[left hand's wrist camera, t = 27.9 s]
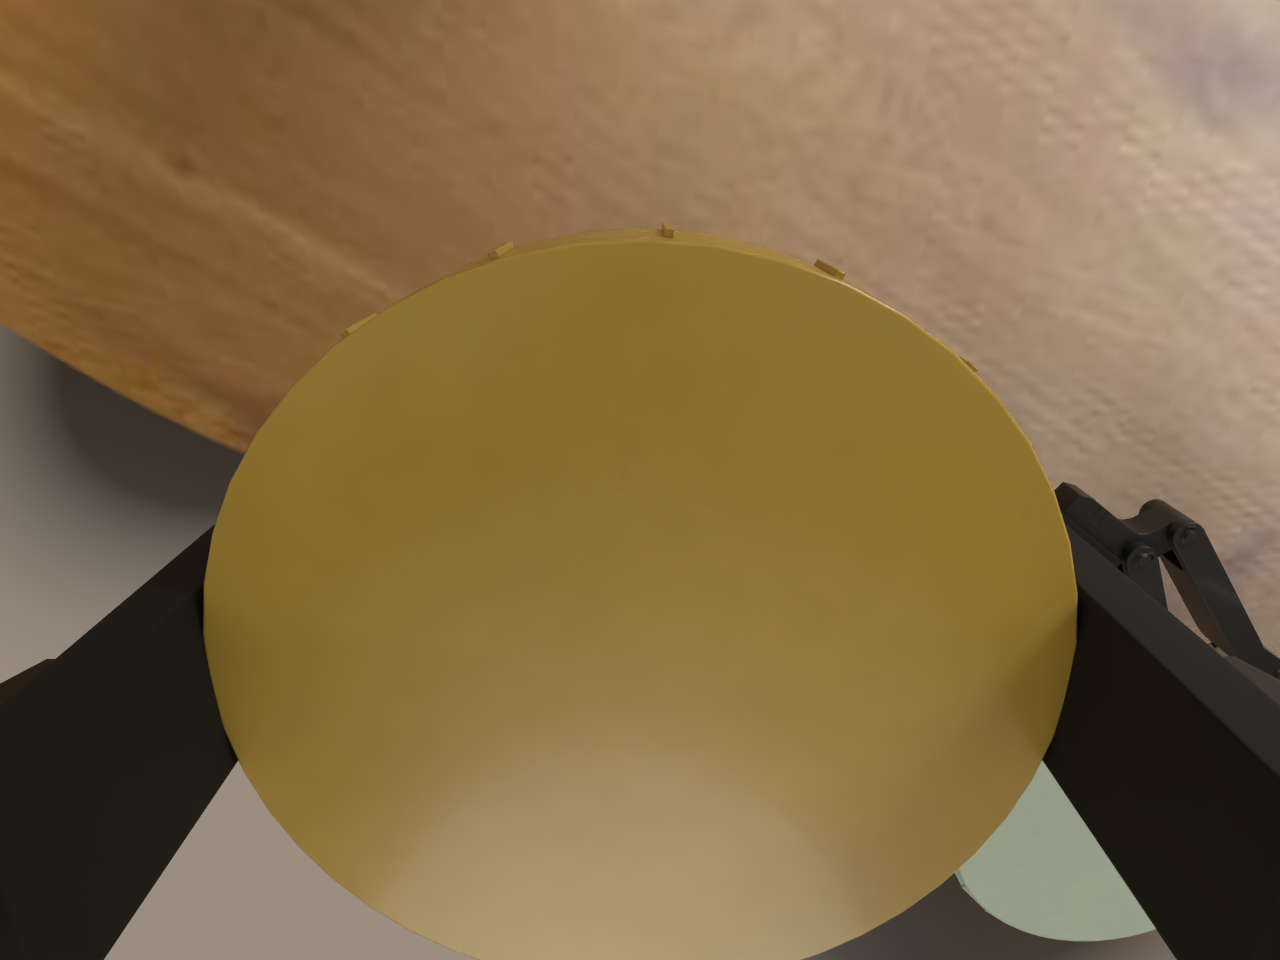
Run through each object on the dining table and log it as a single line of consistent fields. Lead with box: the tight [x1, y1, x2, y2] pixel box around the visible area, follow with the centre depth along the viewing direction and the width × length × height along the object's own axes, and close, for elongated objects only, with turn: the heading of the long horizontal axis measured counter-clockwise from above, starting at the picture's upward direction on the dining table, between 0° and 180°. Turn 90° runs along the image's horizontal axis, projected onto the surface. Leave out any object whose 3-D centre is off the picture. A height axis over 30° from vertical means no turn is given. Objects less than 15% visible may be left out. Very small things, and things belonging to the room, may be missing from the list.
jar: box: [954, 761, 1156, 941], centre depth 32 cm, size 10×10×18 cm
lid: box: [203, 222, 1078, 960], centre depth 11 cm, size 11×11×2 cm
